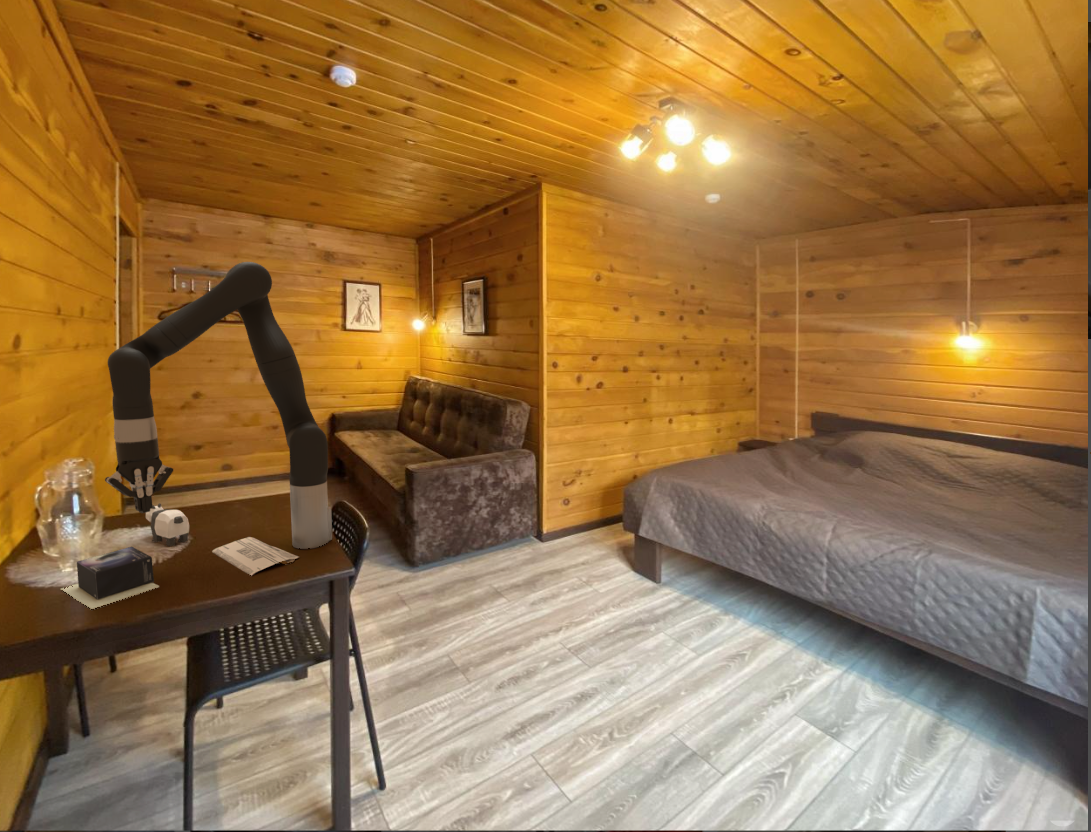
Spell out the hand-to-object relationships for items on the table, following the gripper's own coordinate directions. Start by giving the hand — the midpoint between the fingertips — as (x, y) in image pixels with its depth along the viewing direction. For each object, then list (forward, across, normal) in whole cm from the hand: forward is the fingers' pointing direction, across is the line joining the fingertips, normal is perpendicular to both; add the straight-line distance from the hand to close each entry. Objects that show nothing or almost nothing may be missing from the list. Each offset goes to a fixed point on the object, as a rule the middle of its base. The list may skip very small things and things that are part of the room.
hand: (144, 511), depth 119 cm
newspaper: (+17, +20, -8) cm, 27 cm away
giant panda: (+16, +13, +21) cm, 29 cm away
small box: (+12, -1, 0) cm, 12 cm away
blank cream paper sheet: (+16, -8, 0) cm, 17 cm away
